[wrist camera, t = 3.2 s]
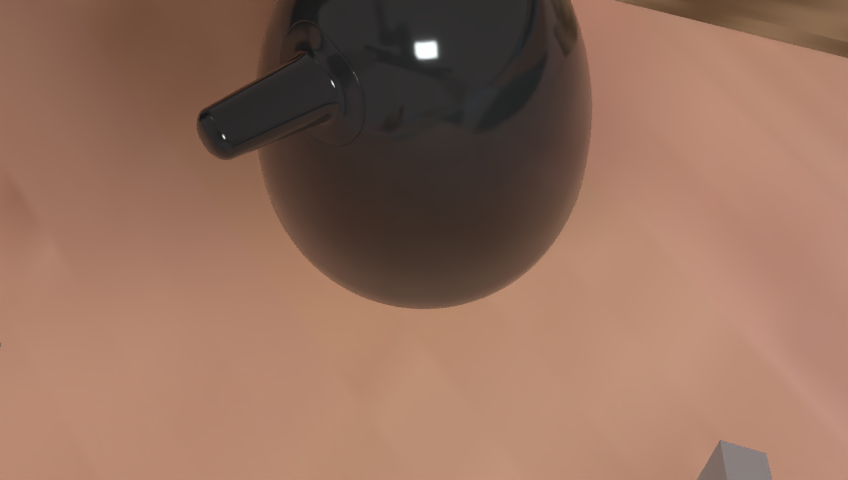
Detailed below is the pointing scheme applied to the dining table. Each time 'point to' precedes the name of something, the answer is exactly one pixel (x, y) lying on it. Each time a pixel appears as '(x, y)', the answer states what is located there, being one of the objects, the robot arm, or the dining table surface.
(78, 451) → the dining table surface
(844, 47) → the track
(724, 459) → the robot arm
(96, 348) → the dining table surface
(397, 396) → the dining table surface
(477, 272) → the pump dispenser
